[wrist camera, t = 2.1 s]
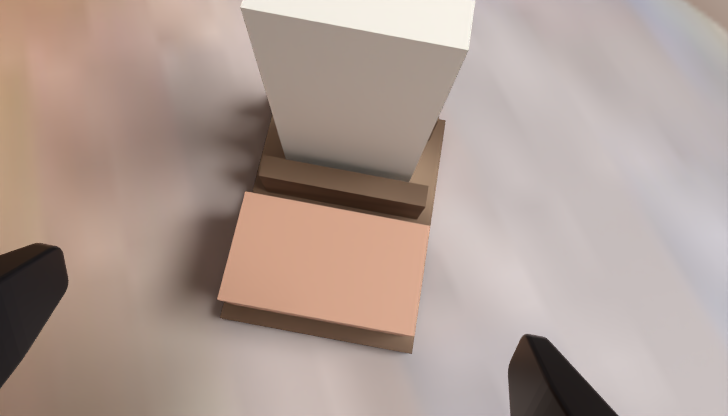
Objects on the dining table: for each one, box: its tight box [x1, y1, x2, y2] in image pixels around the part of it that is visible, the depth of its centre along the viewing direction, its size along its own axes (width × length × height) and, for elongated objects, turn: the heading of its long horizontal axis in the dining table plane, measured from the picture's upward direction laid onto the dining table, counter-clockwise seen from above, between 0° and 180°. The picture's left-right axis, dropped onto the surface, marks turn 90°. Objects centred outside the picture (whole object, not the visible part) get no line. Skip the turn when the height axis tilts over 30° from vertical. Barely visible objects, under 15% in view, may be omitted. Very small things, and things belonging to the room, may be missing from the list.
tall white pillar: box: [240, 0, 475, 182], centre depth 18 cm, size 2×6×12 cm, turn 79°
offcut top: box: [217, 191, 430, 336], centre depth 20 cm, size 5×8×2 cm, turn 79°
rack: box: [220, 115, 445, 354], centre depth 22 cm, size 12×9×3 cm
